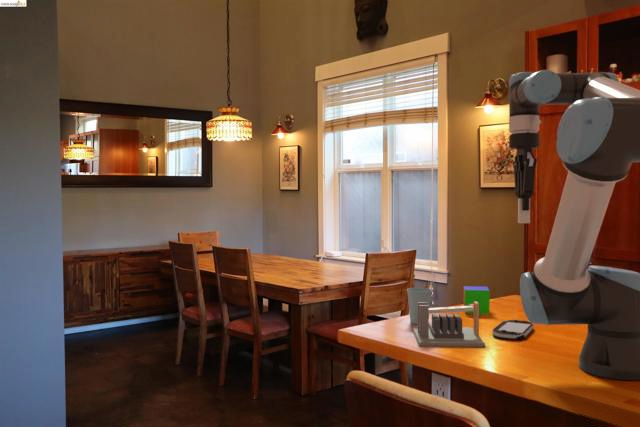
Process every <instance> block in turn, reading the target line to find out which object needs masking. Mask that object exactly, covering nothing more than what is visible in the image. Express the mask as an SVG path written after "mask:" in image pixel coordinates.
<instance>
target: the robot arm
mask: <svg viewBox="0 0 640 427" xmlns="http://www.w3.org/2000/svg"><path fill="white" fill-rule="evenodd" d="M508 92H509V95H508V96H509V100H508V102H509V105H508V106H509V110H508V111H509V115H508V116H509V117H508V132H509V133H510V135H509V137H508V147H509V148H510V149H511V150H516V153H515V155H514V160H513V161H512V167H513V175H514V176H513V178H514V191H515V192H514V194H515V196H516V197H517V223H518V224H531V198H532V197H533V196H534V189H535V174H536V166H537V162H538V159H537V158H536V157H535V155H534V152H533V149H538V148H539V147H540V141H541V140H540V138H541V137H540V134H539V133H538V132H539V131H540V124H541V125H542V120H541V119H540V117H541V116H540V114H541V113H540V112H541V111H540V109H541V108H540V106H543V105H546V106H547V105H548V106H549V105H552V106H553V105H569V106H568V107H567V109H565V111H564V113H563V114H562V116H561V119H560V121H559V124H558V128H557V131H556V137H557V140H556V141H555V142H556V144H555V145H556V152H557V155H558V157H559V159H560V160H561V161H562V165H563V167H564V168H565V170H566V171H567V176H566V179H565V182H564V186H563V189H562V193H561V196H560V201H559V204H558V208H557V211H556V215H555V218H554V223H553V226H552V229H551V233H550V236H549V240H548V243H547V248H546V251H545V254H544V257H542V258H539V259H538V260H537V261H536V262H535V264H534V267H533V271H532V272H530V271H527V272H524V273H522V274H521V275H520V278H519V293H520V300H521V305H522V308H523V312H524V314H525V316H526V318H527V320H528V322H531V323H532V324H533V325H546V326H550V325H551V326H555V325H556V326H557V325H559V326H561V325H563V326H565V325H566V326H567V325H571V326H572V325H573V326H574V325H587V333H586V336H585V337H586V338H585V339H584V342H583V344H582V348H581V351H580V353H579V355H578V367H579V368H580V370H582V371H584V372H586V373H588V374H589V375H590V374H591V375H594V376H597V377H600V378H601V377H602V378H606V379H613V380H618V381H619V380H620V381H640V272H637V271H634V270H628V269H623V268H617V267H611V266H602V265H593V264H592V265H589V263H590V261H591V260H590V259H591V257H592V254H593V251H594V247H595V245H596V242H597V238H598V236H599V233H600V231H601V226H602V224H603V221H604V218H605V215H606V212H607V209H608V206H609V203H610V201H611V200H610V199H611V198H612V195H613V192H614V189H615V186H616V183H619V182H620V181H623V180H625V179H626V177H627V176H628V174H629V171H630V169H631V167H632V164H633V163H640V89H637V88H635V87H632V86H629V85H627V84H624V83H622V82H620V79H619V78H618V75H616V73H614V72H606V71H605V72H604V71H598V72H576V73H575V72H554V71H553V70H550V69H542V70H539V71H523V72H522V71H521V72H518V73H514V74H511V75H510V78H509V86H508Z"/></svg>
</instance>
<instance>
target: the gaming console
mask: <svg viewBox="0 0 640 427" xmlns="http://www.w3.org/2000/svg"><path fill="white" fill-rule="evenodd" d="M532 330H534V323H532V322H530V321H527V320H519V319H507V320H504V321H502V322H500V323H499V324H498V325H497V326H495V327H494V328H493V329H492V331H491V333H492V335H493V337H494V338H496V339H499V338H500V340H506V341H507V340H508V341H521V340H524V339H525V338H526V337H527V336H529V334H530V333H531V331H532Z"/></svg>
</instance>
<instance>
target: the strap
mask: <svg viewBox="0 0 640 427" xmlns="http://www.w3.org/2000/svg"><path fill="white" fill-rule="evenodd" d="M465 311H474V307H473V306H464V305H460V306H443V307H442V306H441V307H439V306H438V307H430V308H429V315H430V314H444V313H445V314H449V313H462V312H465Z"/></svg>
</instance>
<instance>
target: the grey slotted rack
mask: <svg viewBox="0 0 640 427" xmlns="http://www.w3.org/2000/svg"><path fill="white" fill-rule="evenodd" d="M469 306H473V307H474V314H473V328H472V327H469V326H466V327H465V326H463V319H462V317H461V316H460V315H459V314H458V313H453V314H451V313H445V314H444V313H431V326H429V323H430V321H429V319H430V314H429V306H428V305H427V303H426V302H418V324H417V326H412V331H413V335H414V337H415V338H416V339H415V340H416V341H417V345H418V346H419V347H445V348H446V347H451V348H452V347H453V348H455V347H459V348H461V347H462V348H463V347H465V348H485V346H486V344H485V342H484V340H483V339H482V338H481V337H480V329H479V328H480V324H479V323H480V314H479V303H478V302H477V301H474V304H469ZM437 314H438V315H437Z"/></svg>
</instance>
